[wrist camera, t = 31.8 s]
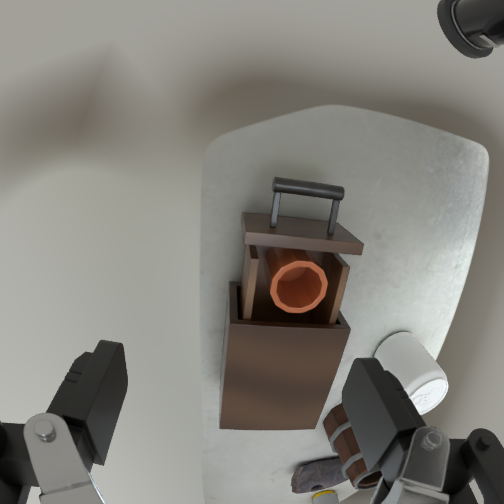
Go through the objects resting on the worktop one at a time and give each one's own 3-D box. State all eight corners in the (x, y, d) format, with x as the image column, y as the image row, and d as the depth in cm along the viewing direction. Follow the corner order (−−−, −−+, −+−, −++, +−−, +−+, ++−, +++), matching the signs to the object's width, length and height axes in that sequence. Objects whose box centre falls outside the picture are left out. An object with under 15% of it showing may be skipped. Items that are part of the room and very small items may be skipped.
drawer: (247, 169, 34) (252, 177, 27) (346, 183, 35) (374, 194, 28) (229, 329, 41) (229, 367, 34) (314, 333, 42) (329, 369, 35)
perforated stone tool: (356, 449, 55) (365, 473, 49) (353, 461, 57) (361, 484, 51) (288, 462, 55) (293, 488, 48) (288, 473, 57) (292, 497, 50)
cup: (267, 236, 36) (275, 258, 29) (314, 241, 36) (332, 263, 30) (260, 281, 38) (267, 311, 31) (306, 285, 38) (320, 314, 32)
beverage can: (410, 363, 47) (441, 409, 36) (369, 373, 47) (396, 424, 36) (419, 325, 45) (457, 369, 33) (375, 334, 44) (409, 385, 33)
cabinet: (229, 281, 40) (229, 323, 31) (326, 288, 41) (351, 329, 32) (219, 380, 45) (219, 428, 36) (301, 383, 47) (314, 429, 37)
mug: (326, 401, 49) (350, 471, 35) (389, 390, 49) (422, 450, 35) (316, 450, 54) (332, 509, 40) (370, 439, 55) (393, 493, 41)
